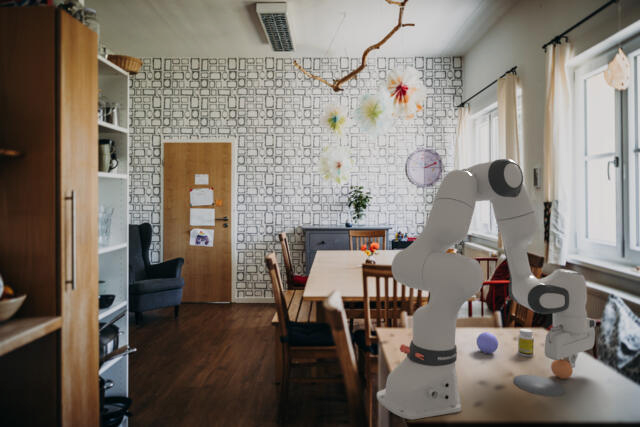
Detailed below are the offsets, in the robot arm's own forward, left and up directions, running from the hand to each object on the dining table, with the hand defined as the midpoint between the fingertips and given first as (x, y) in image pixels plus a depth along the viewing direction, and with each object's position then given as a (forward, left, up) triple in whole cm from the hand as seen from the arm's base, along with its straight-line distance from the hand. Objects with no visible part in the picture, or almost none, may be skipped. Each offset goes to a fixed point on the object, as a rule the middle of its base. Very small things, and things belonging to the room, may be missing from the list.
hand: (569, 367), depth 120 cm
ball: (-4, 0, 0) cm, 4 cm away
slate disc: (-15, 0, -2) cm, 15 cm away
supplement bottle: (+4, +17, -3) cm, 18 cm away
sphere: (-7, +24, -3) cm, 25 cm away
